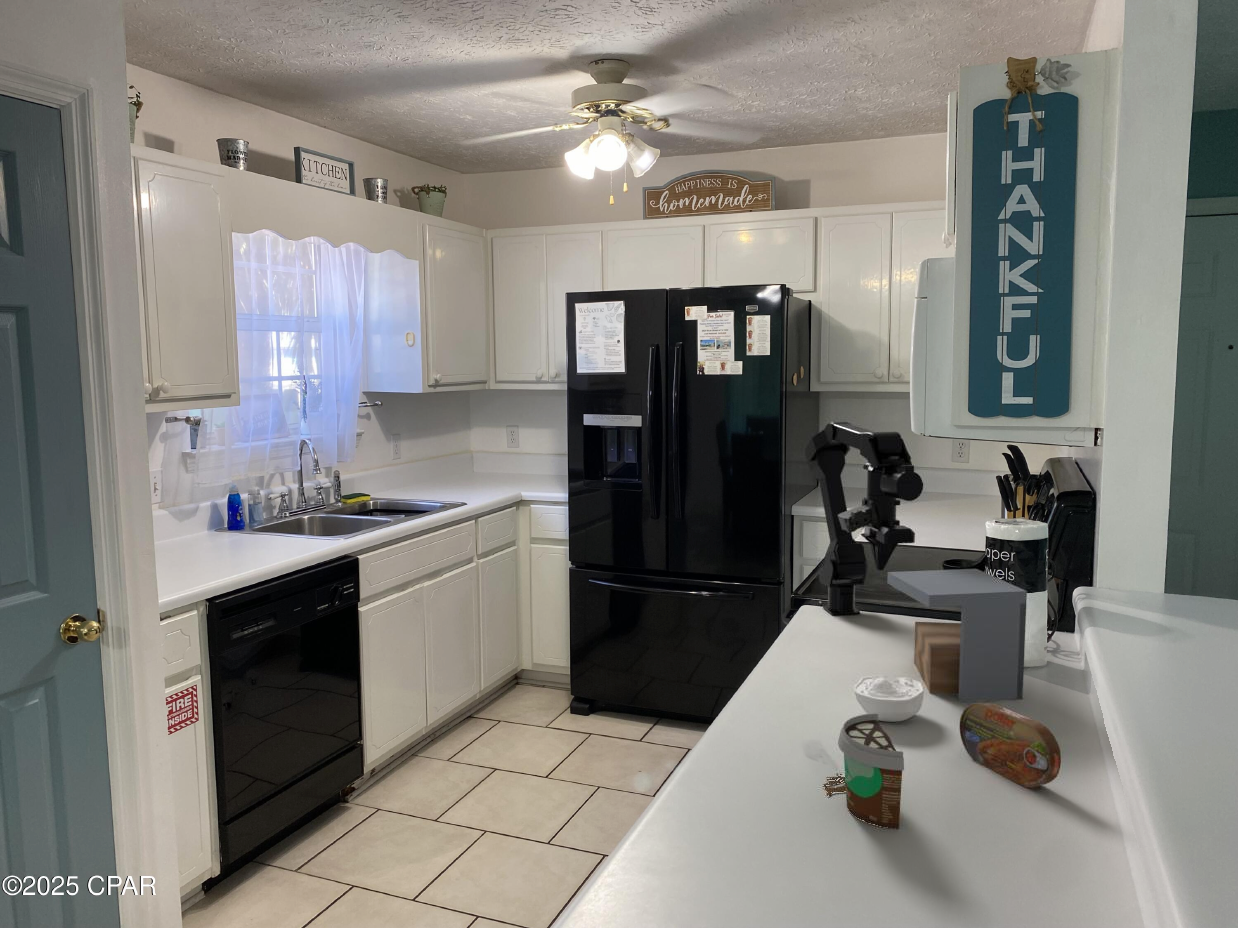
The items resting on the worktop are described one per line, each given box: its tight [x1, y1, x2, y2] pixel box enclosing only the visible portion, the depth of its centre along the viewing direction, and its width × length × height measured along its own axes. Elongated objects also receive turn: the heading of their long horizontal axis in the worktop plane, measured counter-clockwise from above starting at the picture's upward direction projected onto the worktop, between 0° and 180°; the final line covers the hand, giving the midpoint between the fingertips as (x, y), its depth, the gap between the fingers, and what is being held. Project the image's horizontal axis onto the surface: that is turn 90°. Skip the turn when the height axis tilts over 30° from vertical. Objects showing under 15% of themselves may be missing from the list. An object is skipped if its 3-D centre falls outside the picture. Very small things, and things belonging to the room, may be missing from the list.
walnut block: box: [913, 621, 961, 695], centre depth 153 cm, size 15×8×8 cm, turn 171°
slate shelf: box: [886, 568, 1028, 703], centre depth 150 cm, size 16×16×18 cm
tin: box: [959, 702, 1062, 789], centre depth 118 cm, size 15×3×8 cm, turn 23°
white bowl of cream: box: [853, 674, 925, 723], centre depth 137 cm, size 10×12×7 cm
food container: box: [837, 713, 905, 830], centre depth 109 cm, size 12×6×10 cm, turn 178°
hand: (880, 569), depth 179 cm, fingers closed
